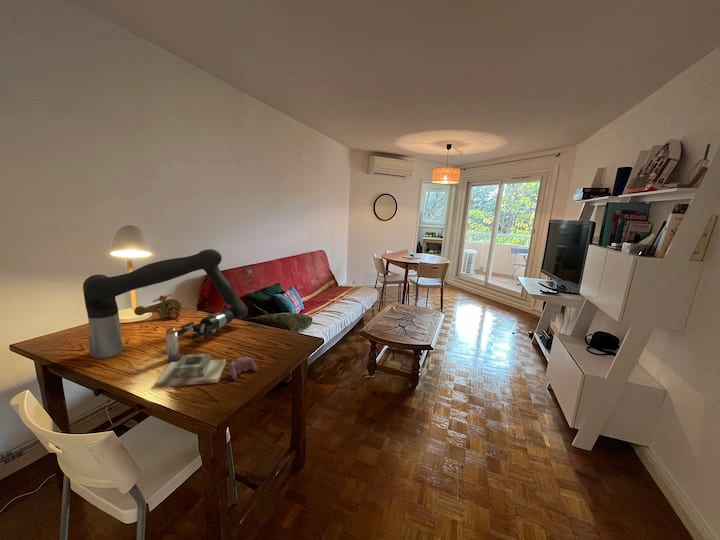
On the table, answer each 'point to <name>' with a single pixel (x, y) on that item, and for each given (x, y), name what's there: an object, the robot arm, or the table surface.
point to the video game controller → (238, 362)
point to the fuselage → (172, 344)
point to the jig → (192, 371)
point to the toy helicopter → (162, 308)
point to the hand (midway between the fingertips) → (184, 335)
